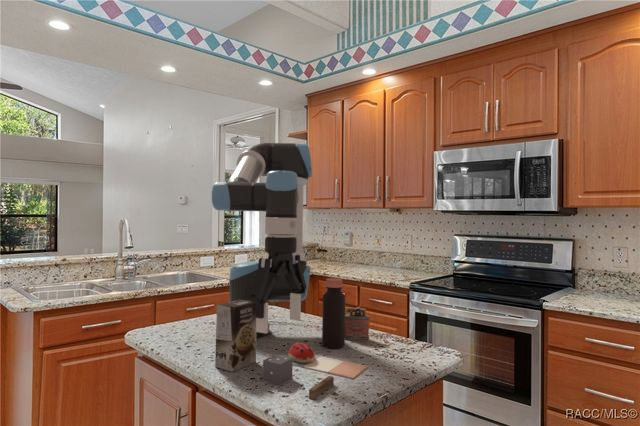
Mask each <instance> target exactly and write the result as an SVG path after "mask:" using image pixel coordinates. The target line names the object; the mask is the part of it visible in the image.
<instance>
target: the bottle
mask: <svg viewBox="0 0 640 426" xmlns="http://www.w3.org/2000/svg"><path fill="white" fill-rule="evenodd" d="M325 289H326V292H325V293H324V294H323V295H322V323H321V324H322V326H321V329H322V330H321V336H322V337H321V346H322V347H324V348H327V349H331V350H338V349H342V348H344V347H345V346H346V345H345V343H346V340H345V315H346V295H345V294H344V293H343V292H342V289H343V279H342V278H337V277H336V278H335V277H329V278H326V281H325Z"/></svg>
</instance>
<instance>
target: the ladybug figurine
mask: <svg viewBox="0 0 640 426" xmlns="http://www.w3.org/2000/svg"><path fill="white" fill-rule="evenodd" d="M287 355H288V357H290V358H293V360H294V361H296V362H299V363H310V362H312V361H314V359H315V355H316V354H315V352H314V351H313V349H312V347H310V345H308V344H306V343H303V342H295V343H294V344H293V345H292V346H291V347H290V349H289V350H288V354H287Z"/></svg>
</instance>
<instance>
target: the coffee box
mask: <svg viewBox="0 0 640 426" xmlns="http://www.w3.org/2000/svg"><path fill="white" fill-rule="evenodd" d="M255 312H256V304H255V303H253V302H251V301H249V300H241V299H240V300H235V301H231V302H229V301H227V302H222V303H217V304H216V323H215V325H216V329H215V330H216V331H215V357H214V358H215V360H214V362H215V363H214V367H215V368H218V369H222V370H225V371H228V372H235V371H238V370H241V369H242V368H244V367H247V366H249V365H252V364H254V363H256V362H257V337H256V334H257V332H256V316H255Z"/></svg>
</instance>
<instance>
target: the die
mask: <svg viewBox="0 0 640 426" xmlns="http://www.w3.org/2000/svg"><path fill="white" fill-rule="evenodd" d="M293 366H294V365H293V358H290V357H289V356H285V355H281V354H277V353H276V354H275V353H274V354H273V355H271V356H269V357H267V358H266V359H263V360H262V382H264V383H269V384H272V385H276V386H280V387H281V386H283V385H284V384H286V383H288V382H289V381H291V380H292V379H293Z"/></svg>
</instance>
